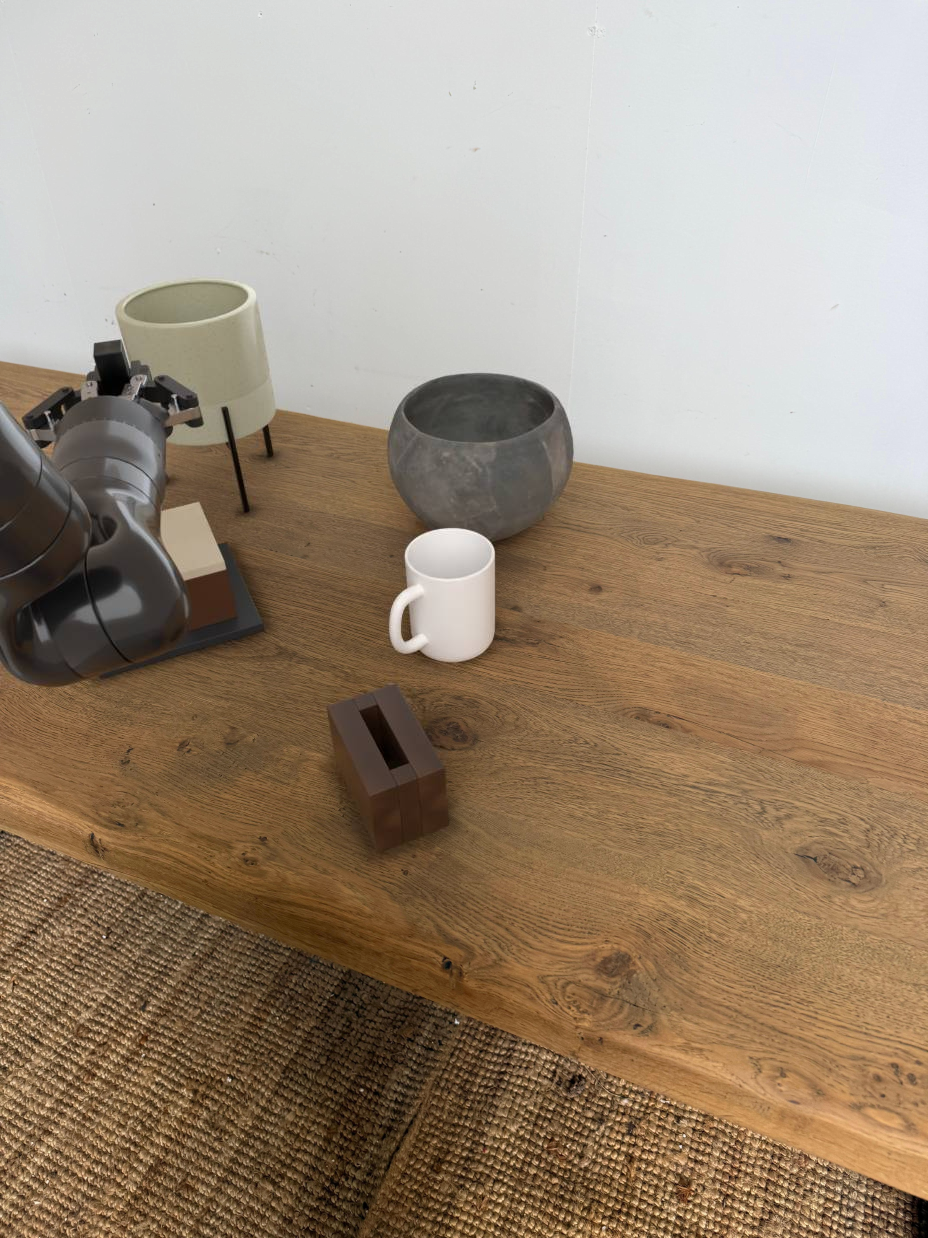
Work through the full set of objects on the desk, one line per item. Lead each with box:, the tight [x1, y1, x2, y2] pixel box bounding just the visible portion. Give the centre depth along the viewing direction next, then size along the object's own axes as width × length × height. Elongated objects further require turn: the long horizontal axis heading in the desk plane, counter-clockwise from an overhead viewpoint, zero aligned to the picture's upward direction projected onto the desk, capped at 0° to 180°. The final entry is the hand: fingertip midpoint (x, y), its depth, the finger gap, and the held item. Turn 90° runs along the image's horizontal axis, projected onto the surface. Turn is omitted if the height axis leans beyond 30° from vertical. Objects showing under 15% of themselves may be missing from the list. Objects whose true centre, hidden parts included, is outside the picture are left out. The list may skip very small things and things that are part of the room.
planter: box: [114, 277, 277, 514], centre depth 103 cm, size 15×16×23 cm
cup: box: [388, 528, 496, 663], centre depth 81 cm, size 8×12×10 cm
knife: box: [92, 339, 131, 397], centre depth 74 cm, size 2×6×16 cm, turn 18°
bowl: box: [386, 372, 575, 543], centre depth 97 cm, size 20×20×15 cm
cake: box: [98, 501, 265, 680], centre depth 88 cm, size 16×16×8 cm
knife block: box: [325, 683, 449, 854], centre depth 69 cm, size 6×10×7 cm, turn 25°
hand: (120, 373), depth 74 cm, fingers closed on knife, 2 cm apart
